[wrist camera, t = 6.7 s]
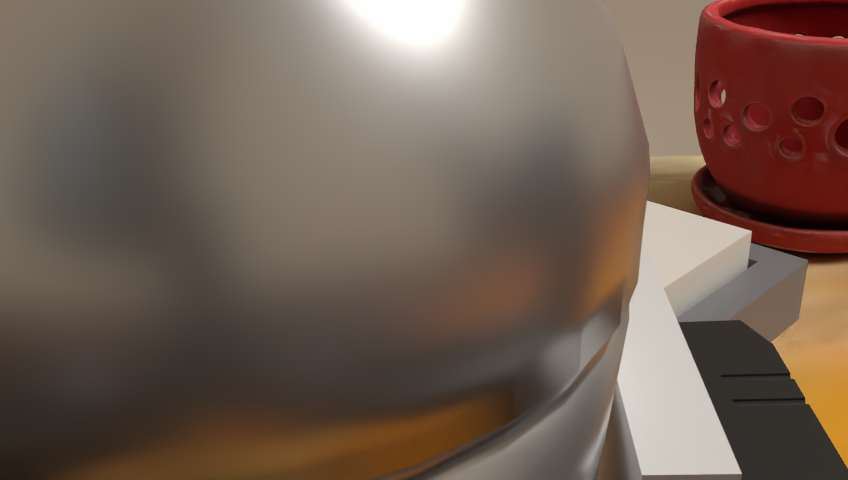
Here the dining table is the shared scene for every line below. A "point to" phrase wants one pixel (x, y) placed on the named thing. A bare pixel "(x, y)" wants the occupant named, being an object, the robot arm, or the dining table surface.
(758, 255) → the keypad frame
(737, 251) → the pale key
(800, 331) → the dining table surface
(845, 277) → the dining table surface
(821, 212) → the plant pot
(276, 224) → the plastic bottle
